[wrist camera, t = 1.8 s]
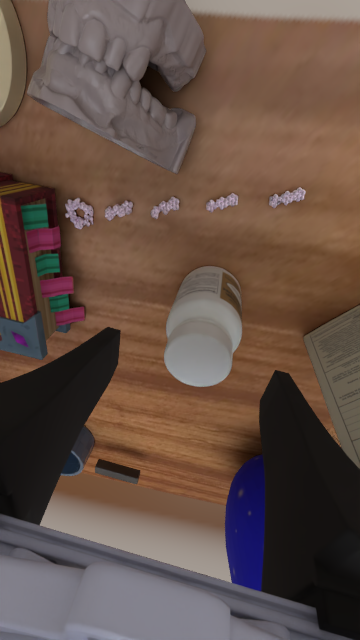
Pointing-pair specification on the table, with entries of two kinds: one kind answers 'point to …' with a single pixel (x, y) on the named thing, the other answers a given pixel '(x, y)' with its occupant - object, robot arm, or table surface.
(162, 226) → the table surface
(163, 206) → the pink molecule models
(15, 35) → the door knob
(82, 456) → the dark grey open cylinder
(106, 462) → the dark grey rectangular bar
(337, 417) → the cosmetic box
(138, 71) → the dental mold
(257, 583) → the ornament
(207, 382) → the pill bottle
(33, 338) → the decorative book
